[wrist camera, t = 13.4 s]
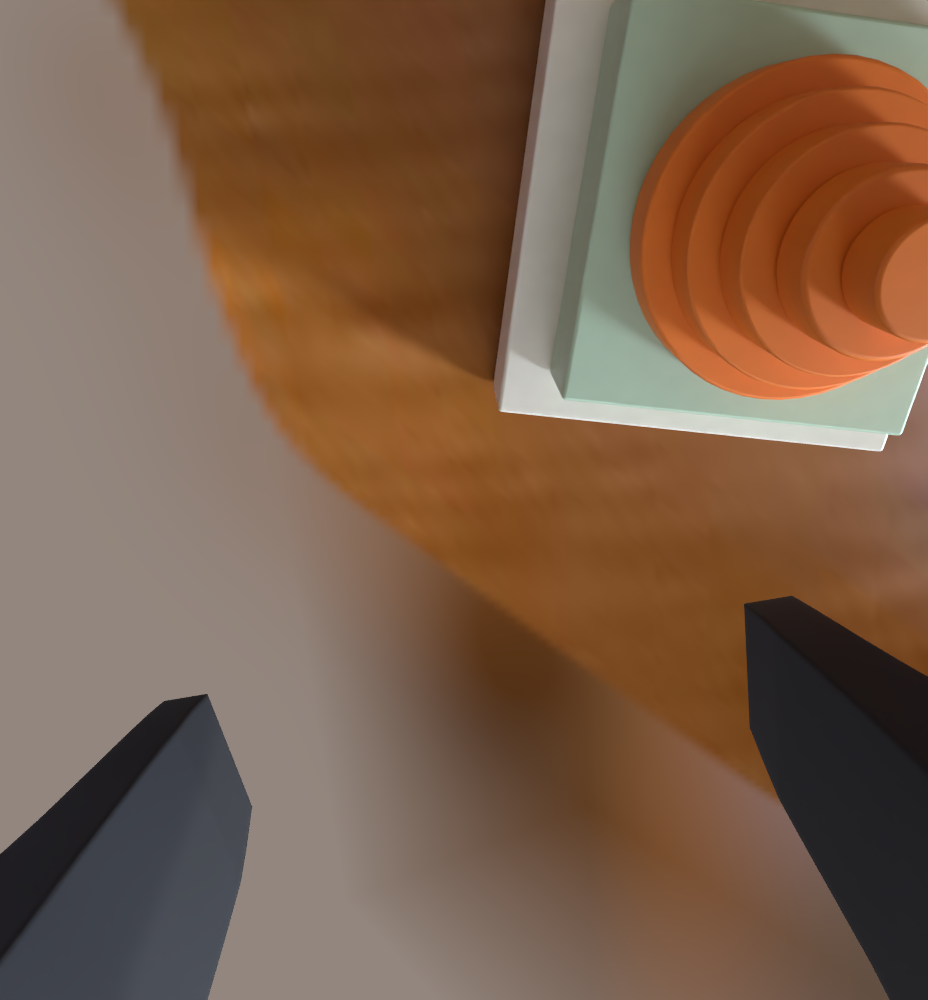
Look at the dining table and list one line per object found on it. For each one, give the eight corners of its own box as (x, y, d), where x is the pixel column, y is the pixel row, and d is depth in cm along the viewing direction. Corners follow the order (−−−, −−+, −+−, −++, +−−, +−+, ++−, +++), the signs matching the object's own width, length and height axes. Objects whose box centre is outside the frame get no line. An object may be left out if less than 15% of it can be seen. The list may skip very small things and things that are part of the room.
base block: (492, 387, 19) (497, 412, 18) (552, -48, 16) (565, -72, 14) (843, 424, 20) (883, 452, 18) (978, 15, 16) (1045, -1, 15)
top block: (549, 373, 17) (561, 400, 15) (610, 1, 14) (634, -19, 13) (855, 407, 18) (902, 437, 16) (973, 53, 15) (1047, 40, 13)
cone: (602, 369, 15) (669, 466, 11) (666, 37, 13) (786, -19, 8) (880, 400, 16) (1060, 506, 11) (989, 83, 13) (1272, 52, 9)
